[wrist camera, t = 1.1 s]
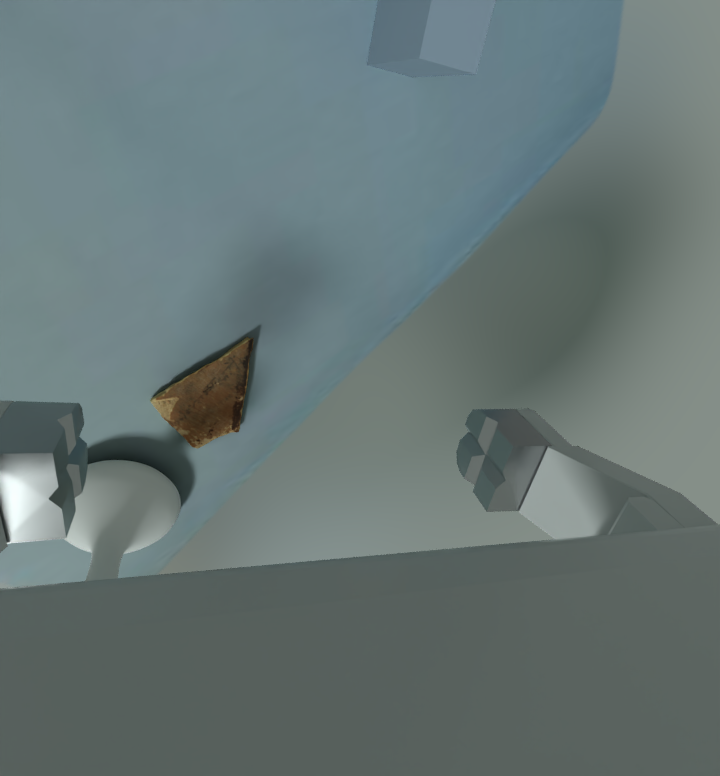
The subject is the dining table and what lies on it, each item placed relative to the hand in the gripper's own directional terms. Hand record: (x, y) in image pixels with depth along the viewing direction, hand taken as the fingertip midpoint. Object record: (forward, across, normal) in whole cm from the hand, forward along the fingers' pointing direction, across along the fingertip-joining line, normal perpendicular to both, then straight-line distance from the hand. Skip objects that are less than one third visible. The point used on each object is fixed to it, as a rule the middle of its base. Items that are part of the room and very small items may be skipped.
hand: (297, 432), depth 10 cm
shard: (+32, +2, +17) cm, 36 cm away
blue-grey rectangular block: (+30, -10, -14) cm, 35 cm away
